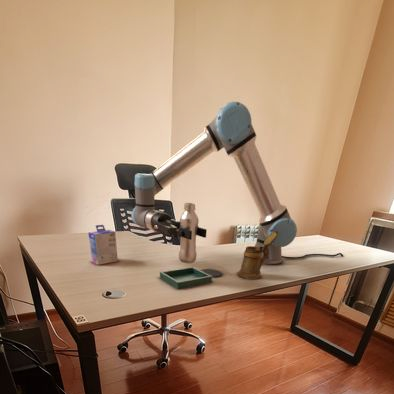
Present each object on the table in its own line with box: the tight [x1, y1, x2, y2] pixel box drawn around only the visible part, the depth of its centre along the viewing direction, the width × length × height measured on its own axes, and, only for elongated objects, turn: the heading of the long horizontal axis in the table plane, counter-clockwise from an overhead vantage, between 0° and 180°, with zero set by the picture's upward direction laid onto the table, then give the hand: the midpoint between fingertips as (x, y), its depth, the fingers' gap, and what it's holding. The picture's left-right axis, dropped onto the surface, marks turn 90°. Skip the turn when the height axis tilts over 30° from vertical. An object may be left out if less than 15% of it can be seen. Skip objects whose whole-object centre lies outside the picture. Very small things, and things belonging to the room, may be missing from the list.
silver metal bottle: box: [178, 202, 200, 264], centre depth 108 cm, size 6×7×20 cm
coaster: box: [200, 268, 223, 278], centre depth 126 cm, size 9×9×1 cm
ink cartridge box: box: [87, 224, 119, 266], centre depth 126 cm, size 10×6×14 cm, turn 137°
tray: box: [159, 266, 213, 290], centre depth 116 cm, size 16×13×2 cm
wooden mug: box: [238, 231, 278, 280], centre depth 122 cm, size 9×14×18 cm, turn 101°
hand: (198, 234), depth 104 cm, fingers closed on silver metal bottle, 6 cm apart
